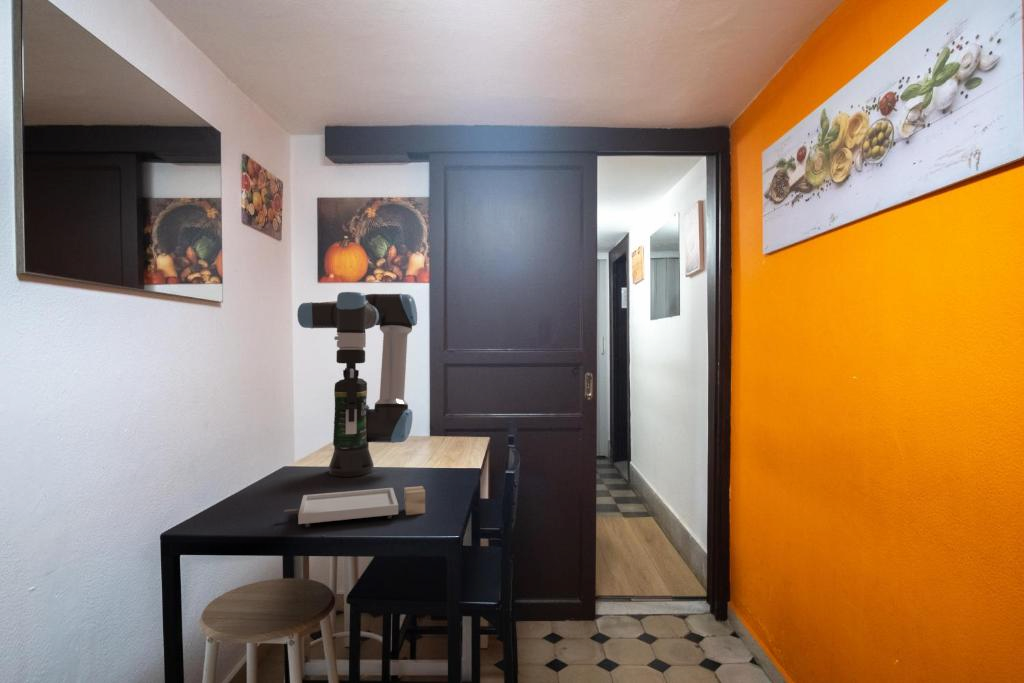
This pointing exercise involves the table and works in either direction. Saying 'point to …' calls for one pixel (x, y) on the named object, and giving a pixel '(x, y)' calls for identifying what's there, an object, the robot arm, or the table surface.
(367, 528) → the table surface
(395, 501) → the white shallow tray
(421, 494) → the beech block
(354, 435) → the coffee jar
